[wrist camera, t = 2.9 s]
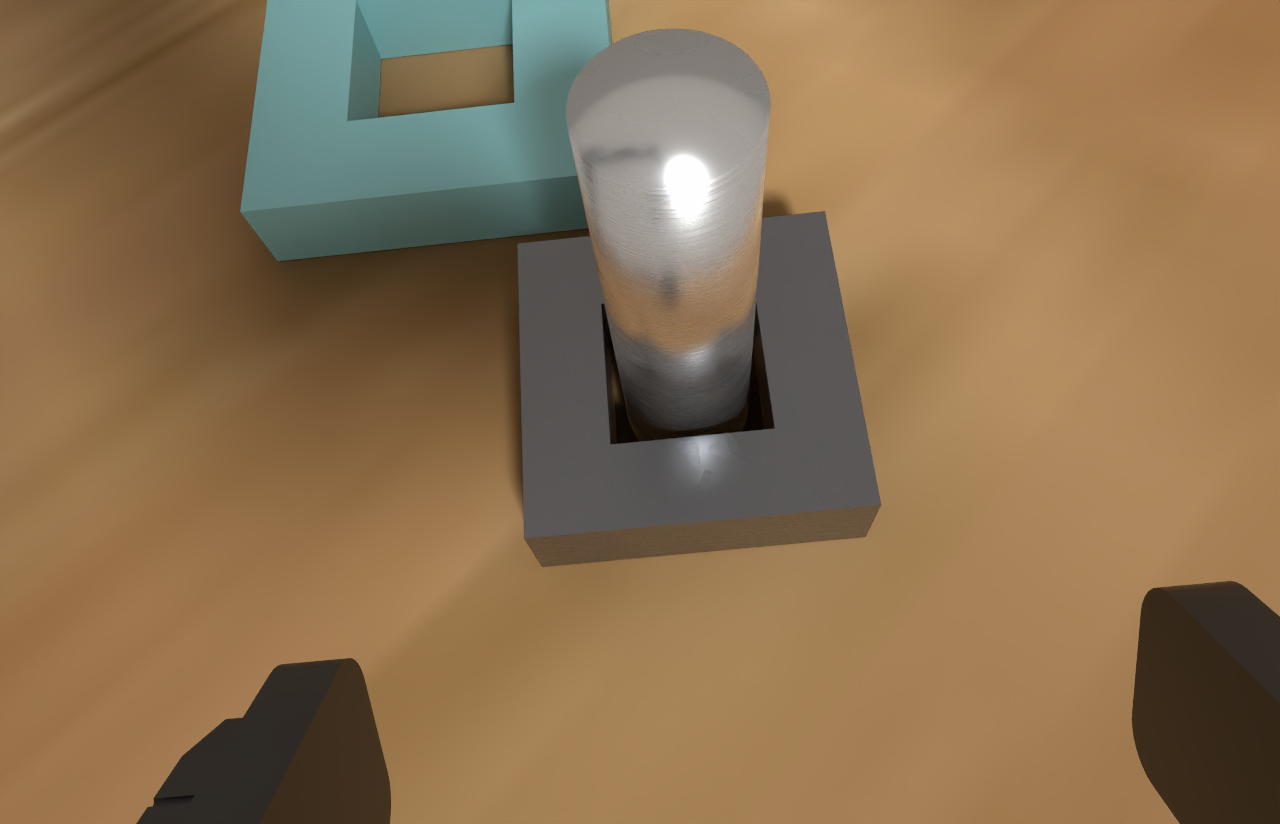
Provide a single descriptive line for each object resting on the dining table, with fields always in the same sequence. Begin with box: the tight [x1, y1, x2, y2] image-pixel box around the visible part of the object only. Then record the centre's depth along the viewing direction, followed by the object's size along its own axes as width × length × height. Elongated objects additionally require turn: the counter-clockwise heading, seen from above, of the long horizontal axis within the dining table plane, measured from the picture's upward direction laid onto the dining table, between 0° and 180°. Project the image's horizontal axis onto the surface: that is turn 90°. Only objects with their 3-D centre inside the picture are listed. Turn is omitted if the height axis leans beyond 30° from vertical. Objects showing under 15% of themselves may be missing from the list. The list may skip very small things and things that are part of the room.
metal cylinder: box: [566, 29, 770, 442], centre depth 25 cm, size 4×4×14 cm
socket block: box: [517, 211, 881, 567], centre depth 30 cm, size 10×10×3 cm
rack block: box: [240, 0, 612, 261], centre depth 36 cm, size 13×13×3 cm
